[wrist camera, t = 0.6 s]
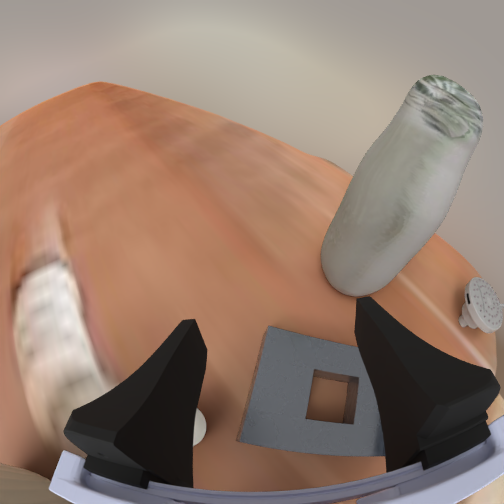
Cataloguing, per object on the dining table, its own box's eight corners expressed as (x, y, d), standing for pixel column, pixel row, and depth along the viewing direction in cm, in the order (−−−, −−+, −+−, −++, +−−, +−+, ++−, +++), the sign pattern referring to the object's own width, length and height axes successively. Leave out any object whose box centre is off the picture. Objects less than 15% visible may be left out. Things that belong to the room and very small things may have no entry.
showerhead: (512, 330, 25) (481, 321, 26) (482, 350, 31) (448, 343, 31) (500, 281, 31) (468, 266, 31) (474, 303, 37) (441, 292, 37)
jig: (378, 456, 21) (403, 454, 18) (236, 440, 21) (242, 442, 18) (388, 361, 29) (409, 349, 25) (263, 334, 29) (273, 317, 25)
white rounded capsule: (199, 450, 20) (198, 454, 16) (159, 436, 20) (149, 437, 16) (210, 414, 23) (212, 410, 19) (171, 401, 23) (164, 394, 19)
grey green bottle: (312, 239, 39) (394, 48, 17) (374, 259, 39) (475, 96, 17) (304, 297, 33) (428, 64, 11) (376, 316, 32) (524, 137, 11)
